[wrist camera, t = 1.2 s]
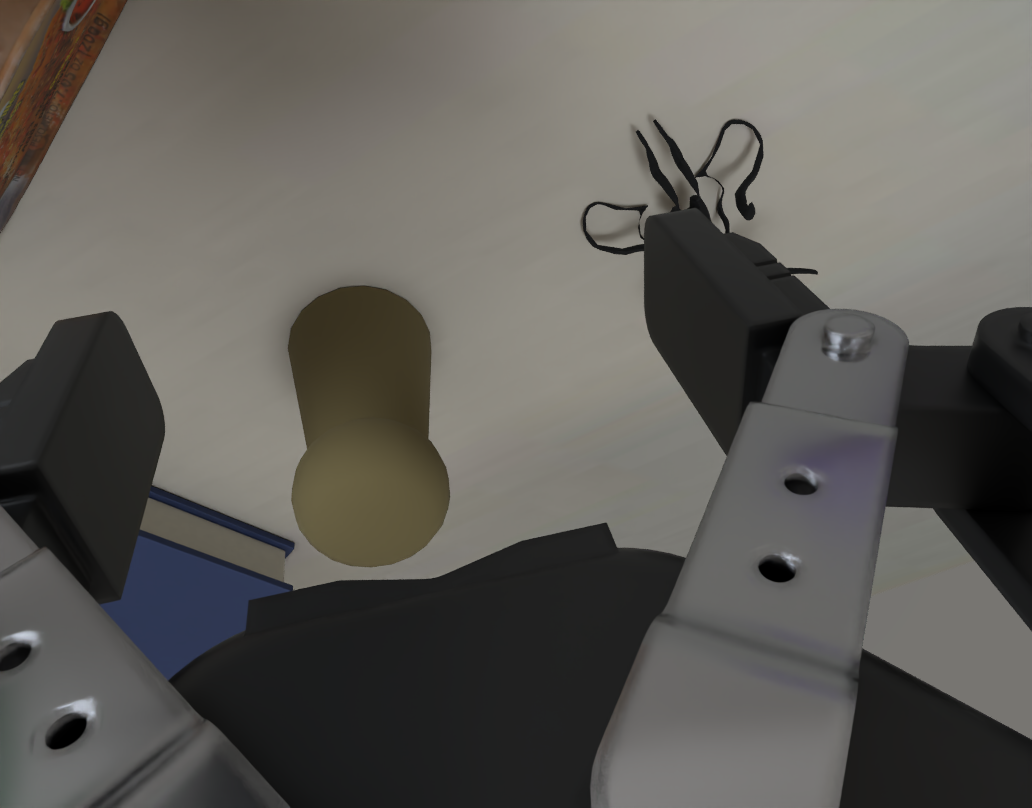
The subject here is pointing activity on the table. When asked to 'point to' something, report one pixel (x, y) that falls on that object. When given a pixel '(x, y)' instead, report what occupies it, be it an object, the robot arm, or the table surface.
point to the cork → (365, 428)
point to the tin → (42, 79)
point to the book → (194, 580)
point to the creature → (695, 200)
